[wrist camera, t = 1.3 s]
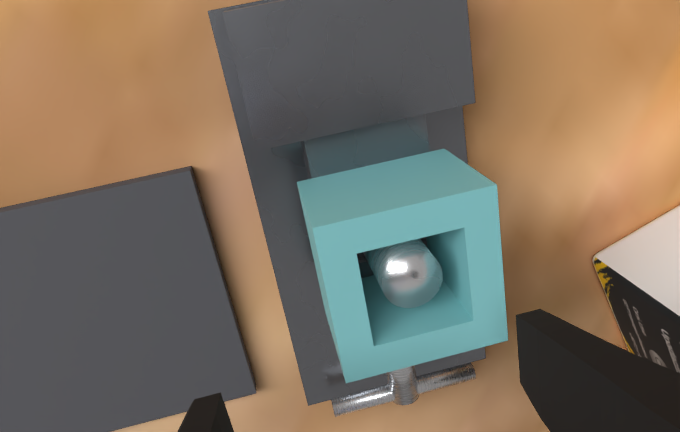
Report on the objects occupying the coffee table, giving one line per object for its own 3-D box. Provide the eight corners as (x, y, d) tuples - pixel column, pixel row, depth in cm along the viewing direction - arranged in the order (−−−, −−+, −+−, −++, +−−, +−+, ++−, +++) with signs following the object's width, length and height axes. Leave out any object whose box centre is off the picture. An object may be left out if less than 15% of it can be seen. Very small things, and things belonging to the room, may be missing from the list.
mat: (255, 384, 24) (256, 393, 23) (18, 446, 23) (13, 457, 22) (191, 166, 20) (190, 170, 19) (-97, 229, 19) (-107, 235, 18)
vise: (476, 345, 25) (551, 451, 19) (305, 390, 24) (328, 516, 18) (439, -34, 19) (531, -52, 13) (209, 10, 18) (195, 13, 12)
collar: (458, 278, 20) (508, 340, 16) (325, 312, 20) (346, 383, 16) (444, 148, 18) (496, 184, 15) (296, 182, 18) (312, 228, 14)
